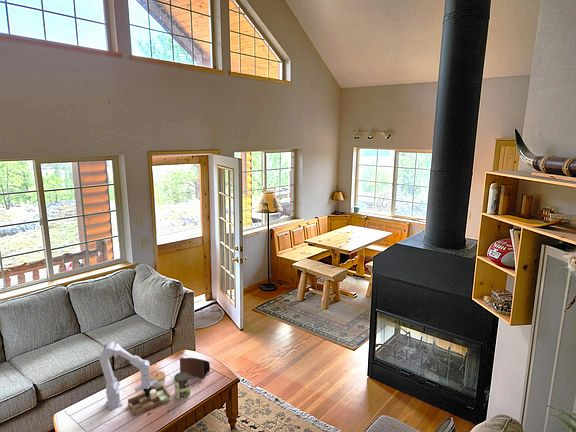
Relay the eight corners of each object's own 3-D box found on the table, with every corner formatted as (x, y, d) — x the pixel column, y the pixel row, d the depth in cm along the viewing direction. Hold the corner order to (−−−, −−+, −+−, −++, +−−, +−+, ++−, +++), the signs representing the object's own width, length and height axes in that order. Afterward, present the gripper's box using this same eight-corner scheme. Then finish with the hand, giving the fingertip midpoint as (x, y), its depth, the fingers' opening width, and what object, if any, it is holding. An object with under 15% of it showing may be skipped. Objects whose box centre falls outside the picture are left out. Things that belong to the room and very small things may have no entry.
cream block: (149, 396, 262) (148, 391, 261) (155, 393, 264) (154, 388, 263) (151, 399, 259) (150, 394, 258) (157, 397, 261) (156, 391, 260)
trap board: (128, 405, 256) (127, 399, 255) (163, 391, 271) (163, 385, 270) (134, 415, 247) (133, 409, 246) (170, 400, 262) (169, 394, 261)
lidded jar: (163, 390, 272) (162, 378, 270) (147, 390, 272) (146, 378, 270) (167, 380, 282) (166, 369, 280) (152, 380, 282) (152, 369, 280)
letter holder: (204, 378, 285) (203, 361, 282) (179, 374, 290) (179, 357, 287) (210, 370, 294) (209, 354, 291) (186, 366, 299) (185, 350, 296)
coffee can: (192, 390, 272) (192, 372, 268) (186, 400, 262) (185, 382, 259) (179, 388, 274) (178, 370, 270) (172, 398, 264) (171, 380, 261)
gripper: (136, 386, 250) (138, 404, 253) (158, 377, 258) (160, 395, 261) (133, 380, 255) (134, 398, 258) (155, 372, 264) (156, 389, 267)
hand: (147, 396), depth 260 cm, fingers closed
